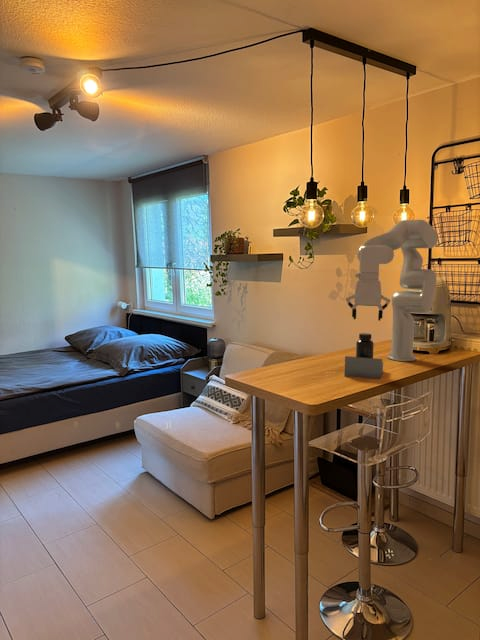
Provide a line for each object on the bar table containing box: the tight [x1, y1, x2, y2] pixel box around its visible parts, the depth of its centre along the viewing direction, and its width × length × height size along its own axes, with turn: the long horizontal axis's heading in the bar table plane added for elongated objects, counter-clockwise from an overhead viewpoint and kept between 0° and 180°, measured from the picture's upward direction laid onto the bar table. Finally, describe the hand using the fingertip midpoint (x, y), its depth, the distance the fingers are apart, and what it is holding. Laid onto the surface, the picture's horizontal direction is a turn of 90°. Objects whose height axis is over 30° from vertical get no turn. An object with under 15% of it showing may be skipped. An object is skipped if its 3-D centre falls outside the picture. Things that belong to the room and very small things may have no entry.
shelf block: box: [344, 355, 384, 380], centre depth 189 cm, size 14×14×8 cm
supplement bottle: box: [355, 332, 375, 358], centre depth 189 cm, size 7×7×12 cm
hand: (366, 319), depth 187 cm, fingers open, 9 cm apart
